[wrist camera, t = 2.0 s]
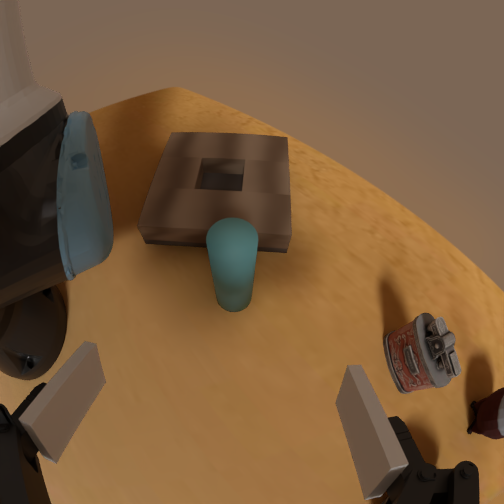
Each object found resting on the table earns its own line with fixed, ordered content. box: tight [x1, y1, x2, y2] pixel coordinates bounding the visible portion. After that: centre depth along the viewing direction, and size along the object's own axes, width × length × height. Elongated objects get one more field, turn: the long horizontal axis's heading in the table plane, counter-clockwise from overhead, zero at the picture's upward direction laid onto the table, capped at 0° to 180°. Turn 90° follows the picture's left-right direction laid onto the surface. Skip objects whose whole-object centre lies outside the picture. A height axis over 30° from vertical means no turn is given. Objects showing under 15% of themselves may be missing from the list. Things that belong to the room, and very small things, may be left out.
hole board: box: [137, 132, 292, 253], centre depth 38 cm, size 18×18×4 cm
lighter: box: [383, 313, 461, 394], centre depth 24 cm, size 8×3×10 cm, turn 14°
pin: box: [206, 218, 258, 312], centre depth 27 cm, size 4×4×12 cm
